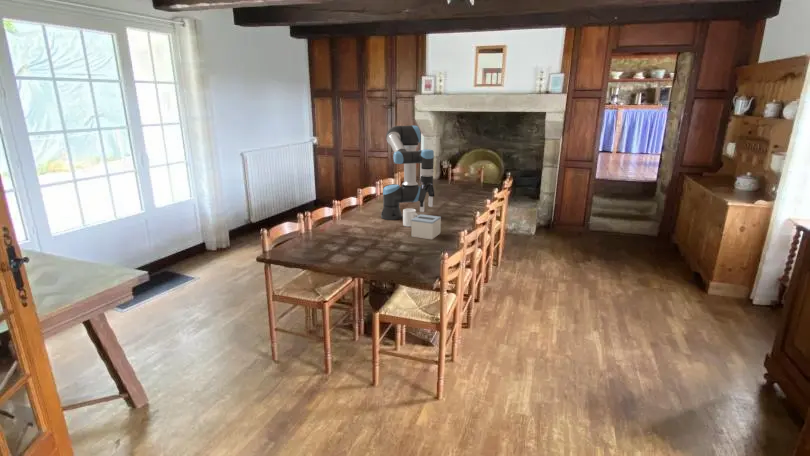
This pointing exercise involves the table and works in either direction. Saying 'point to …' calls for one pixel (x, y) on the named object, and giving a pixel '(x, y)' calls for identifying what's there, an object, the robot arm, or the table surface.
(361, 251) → the table surface
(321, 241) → the table surface
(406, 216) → the mug
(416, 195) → the robot arm
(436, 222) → the coin box
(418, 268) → the table surface
